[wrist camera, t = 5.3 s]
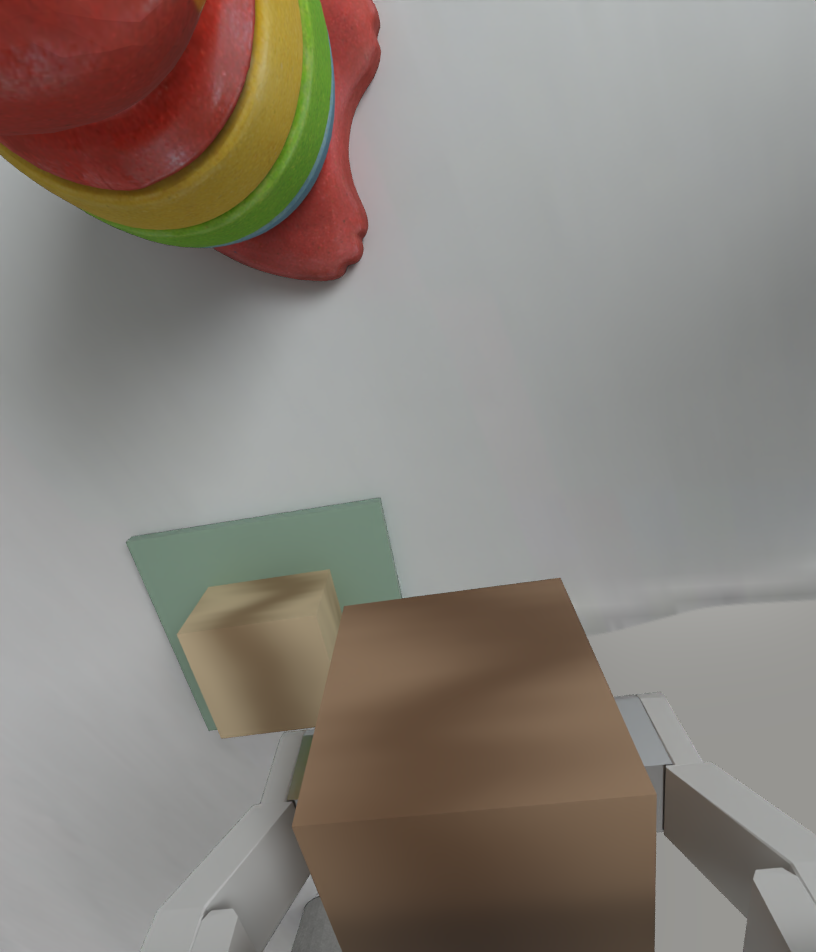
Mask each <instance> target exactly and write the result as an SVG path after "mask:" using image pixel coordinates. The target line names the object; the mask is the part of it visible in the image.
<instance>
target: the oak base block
mask: <svg viewBox="0 0 816 952" xmlns="http://www.w3.org/2000/svg"><path fill="white" fill-rule="evenodd" d="M341 617H342V613H341V609H340V605H339V602H338V598H337V594H336V591H335V587H334V583H333V580H332V576H331V572H330V569H327V570H321V571H314V572H307V573H300V574H293V575H287V576H280V577H273V578H266V579H259V580H253V581H246V582H239V583H232V584H225V585H219V586H212V587H208V588H207V590H206V591H205V593H204V594H203V596H202V597H201V599H200V600H199V602H198V603H197V605H196V606H195V608H194V609H193V611H192V612H191V614H190V615H189V617H188V618H187V620H186V621H185V623H184V624H183V626H182V627H181V629H180V630H179V632H178V633H177V637H178V639H179V641H180V644H181V646H182V648H183V650H184V653H185V655H186V657H187V660H188V662H189V664H190V667H191V669H192V671H193V674H194V676H195V678H196V681H197V683H198V685H199V688H200V690H201V692H202V695H203V697H204V699H205V702H206V704H207V706H208V709H209V711H210V713H211V716H212V718H213V720H214V723H215V725H216V727H217V730H218V732H219V734H220V737H221V739H222V738H231V737H239V736H247V735H255V734H263V733H271V732H280V731H288V730H296V729H304V728H312V727H315V726H316V722H317V718H318V714H319V709H320V705H321V701H322V697H323V692H324V688H325V684H326V680H327V676H328V671H329V667H330V663H331V659H332V655H333V650H334V646H335V642H336V638H337V633H338V629H339V625H340V621H341Z"/></svg>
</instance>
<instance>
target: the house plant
mask: <svg viewBox="0 0 816 952" xmlns="http://www.w3.org/2000/svg"><path fill="white" fill-rule="evenodd" d="M291 952H342V950H341V948H340V945H339V943H338V940H337V938H336V935H335V933H334V931H333V928H332V926H331V923H330V921H329V918H328V916H327V913H326V911H325V908H324V906H323V903H322V901H321V898H320V897H317V898H314V899H313V900H311V901H310V902H309V903H308V904H307V905H306V906H305V909H304V912H303V915H302V919H301V922H300V925H299V928H298V931H297V935H296V938H295V941H294V944H293V947H292V951H291Z"/></svg>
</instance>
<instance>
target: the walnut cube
mask: <svg viewBox="0 0 816 952" xmlns="http://www.w3.org/2000/svg"><path fill="white" fill-rule="evenodd" d="M656 808H657V794H656V792H655V789H654V787H653V785H652V783H651V780H650V778H649V776H648V774H647V771H646V769H645V767H644V765H643V762H642V760H641V758H640V756H639V753H638V751H637V749H636V747H635V744H634V742H633V740H632V738H631V735H630V733H629V731H628V729H627V726H626V724H625V722H624V720H623V717H622V715H621V713H620V711H619V708H618V706H617V704H616V702H615V699H614V697H613V695H612V693H611V690H610V688H609V686H608V684H607V682H606V679H605V677H604V675H603V672H602V670H601V668H600V666H599V664H598V661H597V659H596V657H595V655H594V652H593V650H592V648H591V646H590V643H589V641H588V639H587V637H586V634H585V632H584V630H583V628H582V625H581V623H580V621H579V619H578V616H577V614H576V612H575V610H574V607H573V605H572V603H571V601H570V598H569V596H568V594H567V592H566V589H565V587H564V585H563V583H562V580H561V578H555V579H547V580H540V581H532V582H524V583H517V584H509V585H501V586H494V587H486V588H478V589H471V590H463V591H455V592H448V593H440V594H433V595H425V596H417V597H410V598H402V599H394V600H387V601H379V602H371V603H364V604H356V605H348V606H344V608H343V612H342V617H341V621H340V625H339V629H338V633H337V638H336V642H335V646H334V650H333V655H332V659H331V663H330V667H329V671H328V676H327V680H326V684H325V688H324V692H323V697H322V701H321V705H320V709H319V714H318V718H317V722H316V726H315V730H314V735H313V739H312V743H311V747H310V751H309V756H308V760H307V764H306V768H305V773H304V777H303V781H302V785H301V789H300V794H299V798H298V802H297V806H296V810H295V815H294V819H293V823H292V829H293V831H294V834H295V836H296V839H297V841H298V844H299V846H300V849H301V851H302V854H303V856H304V859H305V861H306V864H307V866H308V869H309V871H310V874H311V876H312V879H313V881H314V883H315V886H316V888H317V891H318V893H319V896H320V898H321V901H322V903H323V906H324V908H325V911H326V913H327V916H328V918H329V921H330V923H331V926H332V928H333V931H334V933H335V935H336V938H337V940H338V943H339V945H340V948H341V950H342V952H654V946H655V941H654V939H655V877H656Z"/></svg>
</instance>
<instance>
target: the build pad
mask: <svg viewBox="0 0 816 952" xmlns="http://www.w3.org/2000/svg"><path fill="white" fill-rule="evenodd" d="M126 543H127V546H128V548H129V550H130V552H131V555H132V557H133V559H134V562H135V564H136V566H137V568H138V571H139V573H140V575H141V577H142V580H143V582H144V584H145V587H146V589H147V591H148V593H149V596H150V598H151V600H152V603H153V605H154V607H155V609H156V612H157V614H158V616H159V619H160V621H161V623H162V625H163V628H164V630H165V632H166V634H167V637H168V639H169V641H170V644H171V646H172V648H173V650H174V653H175V655H176V657H177V660H178V662H179V664H180V666H181V669H182V671H183V673H184V675H185V678H186V680H187V682H188V685H189V687H190V689H191V691H192V694H193V696H194V698H195V701H196V703H197V705H198V707H199V710H200V712H201V714H202V716H203V719H204V721H205V723H206V726H207V728H208V730H209V731H211V730H217V727H216V725H215V723H214V720H213V718H212V716H211V713H210V711H209V709H208V706H207V704H206V702H205V699H204V697H203V695H202V692H201V690H200V688H199V685H198V683H197V681H196V678H195V676H194V674H193V671H192V669H191V667H190V664H189V662H188V660H187V657H186V655H185V653H184V650H183V648H182V646H181V644H180V641H179V639H178V637H177V633H178V632H179V630H180V629H181V627H182V626H183V624H184V623H185V621H186V620H187V618H188V617H189V615H190V614H191V612H192V611H193V609H194V608H195V606H196V605H197V603H198V602H199V600H200V599H201V597H202V596H203V594H204V593H205V591H206V590H207V588H208V587H212V586H219V585H225V584H232V583H239V582H246V581H253V580H259V579H266V578H273V577H280V576H287V575H293V574H300V573H307V572H314V571H321V570H327V569H330V572H331V576H332V580H333V583H334V587H335V591H336V594H337V598H338V602H339V605H340V609H341V613H342V612H343V608H344V606H348V605H356V604H364V603H371V602H379V601H387V600H394V599H402V596H401V591H400V586H399V582H398V577H397V573H396V568H395V563H394V559H393V554H392V549H391V545H390V540H389V536H388V531H387V526H386V522H385V517H384V513H383V508H382V503H381V499H380V498H375V499H369V500H362V501H356V502H350V503H343V504H337V505H331V506H324V507H318V508H312V509H305V510H299V511H293V512H286V513H280V514H273V515H267V516H261V517H254V518H248V519H242V520H235V521H229V522H223V523H216V524H210V525H203V526H197V527H191V528H184V529H178V530H172V531H165V532H159V533H153V534H146V535H140V536H133V537H131V538H130V539H129V540H128V541H127V542H126Z"/></svg>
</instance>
